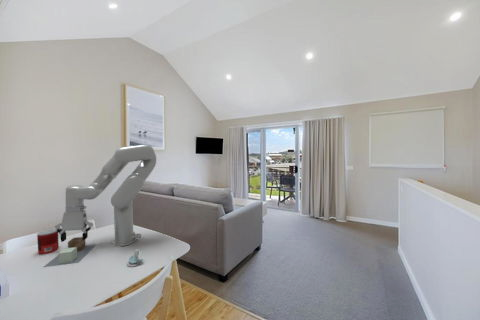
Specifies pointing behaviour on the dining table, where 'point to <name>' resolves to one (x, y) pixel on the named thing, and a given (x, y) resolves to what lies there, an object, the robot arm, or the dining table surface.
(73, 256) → the sage block
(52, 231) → the canned food
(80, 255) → the mat
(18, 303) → the dining table surface
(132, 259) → the pacifier
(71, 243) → the walnut block
